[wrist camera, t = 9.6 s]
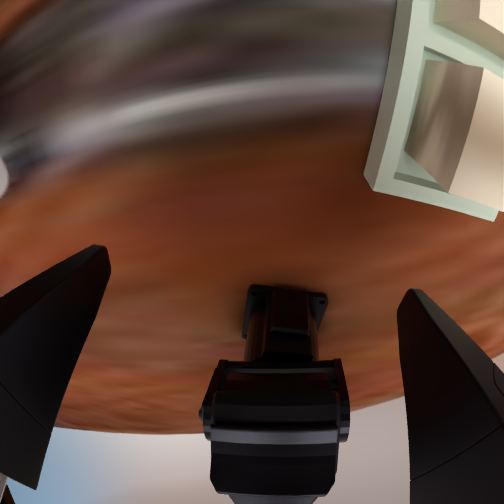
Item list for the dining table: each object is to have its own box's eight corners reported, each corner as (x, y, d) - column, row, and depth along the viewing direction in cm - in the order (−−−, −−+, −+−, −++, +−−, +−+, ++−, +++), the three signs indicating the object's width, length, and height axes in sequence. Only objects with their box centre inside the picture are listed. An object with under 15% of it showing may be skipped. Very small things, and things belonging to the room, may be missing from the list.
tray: (477, 204, 18) (518, 251, 14) (363, 174, 18) (390, 221, 14) (522, -15, 7) (575, -16, 2) (402, -82, 7) (440, -115, 2)
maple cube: (475, 175, 16) (524, 220, 11) (404, 150, 16) (448, 192, 11) (498, 95, 13) (559, 121, 8) (426, 59, 13) (484, 67, 8)
